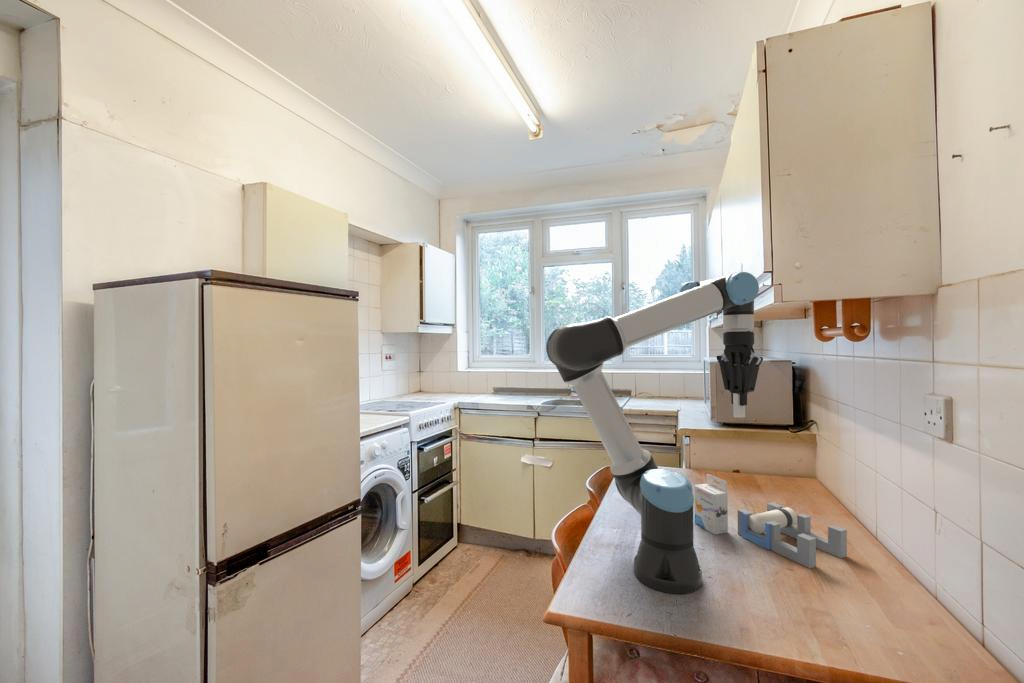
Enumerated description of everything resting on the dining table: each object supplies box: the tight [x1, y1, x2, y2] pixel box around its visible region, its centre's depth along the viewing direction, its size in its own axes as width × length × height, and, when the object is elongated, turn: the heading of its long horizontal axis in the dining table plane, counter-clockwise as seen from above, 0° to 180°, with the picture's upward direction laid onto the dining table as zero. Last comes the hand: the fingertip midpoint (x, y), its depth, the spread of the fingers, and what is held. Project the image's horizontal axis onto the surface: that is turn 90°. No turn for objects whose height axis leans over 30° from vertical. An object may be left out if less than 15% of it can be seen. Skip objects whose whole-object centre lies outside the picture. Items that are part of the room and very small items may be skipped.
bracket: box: [737, 501, 848, 569], centre depth 115 cm, size 16×20×7 cm
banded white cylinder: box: [748, 506, 798, 534], centre depth 119 cm, size 14×5×5 cm, turn 112°
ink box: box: [693, 473, 729, 536], centre depth 125 cm, size 8×5×15 cm, turn 17°
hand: (739, 416), depth 116 cm, fingers closed
